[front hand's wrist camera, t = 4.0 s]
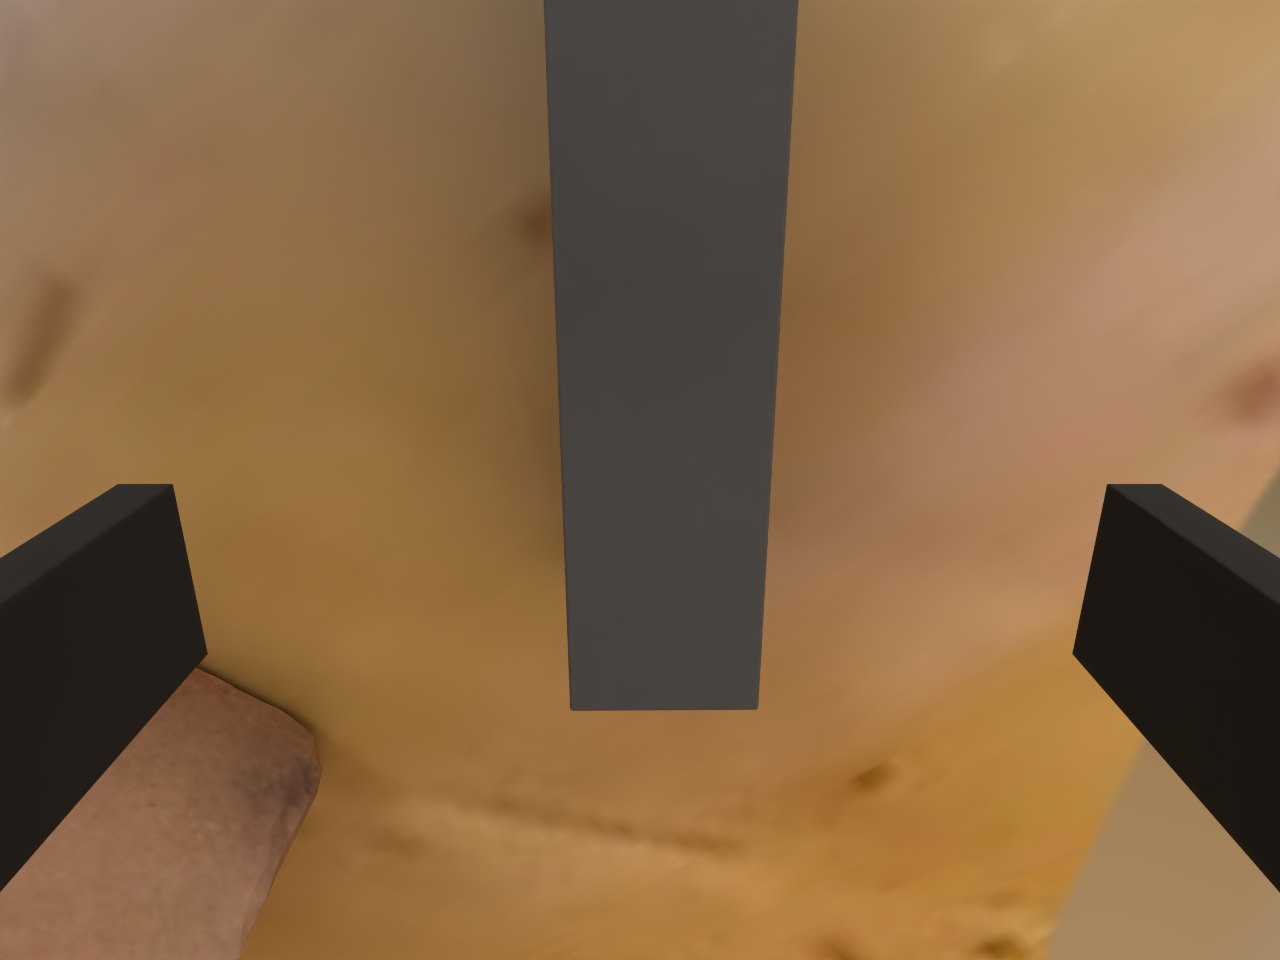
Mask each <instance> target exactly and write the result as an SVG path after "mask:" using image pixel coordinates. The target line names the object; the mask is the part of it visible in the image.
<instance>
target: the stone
mask: <svg viewBox="0 0 1280 960" xmlns="http://www.w3.org/2000/svg"><path fill="white" fill-rule="evenodd" d="M321 773H322V766H321V764H320V762H319V759H318V757H317V754H316V746H315V737H314V735H313V734H311V733H310V732H309V731H308V730H307V729H306V728H304V727H303V726H302V725H301V724H299V723H298V722H297V721H295V720H294V719H293V718H291V717H290V716H288V715H287V714H285V713H284V712H282V711H281V710H279V709H278V708H275V707H273V706H271V705H269V704H267V703H264V702H262V701H260V700H258V699H256V698H254V697H252V696H250V695H248V694H246V693H244V692H242V691H240V690H238V689H236V688H235V687H233V686H231V685H230V684H228V683H226V682H224V681H222V680H221V679H219V678H217V677H215V676H213V675H211V674H208V673H206V672H204V671H202V670H200V669H198V668H195V669H194V670H193V671H192V672H191V673H190V675H189V676H188V677H187V678H186V679H185V680H184V682H183V683H182V684H181V685H180V686H179V687H178V688H177V690H176V691H175V692H174V693H173V694H172V695H171V696H170V698H169V699H168V700H167V701H166V702H165V703H164V705H163V706H162V707H161V708H160V709H159V710H158V711H157V713H156V714H155V715H154V716H153V717H152V718H151V720H150V721H149V722H148V723H147V724H146V725H145V726H144V728H143V729H142V730H141V731H140V732H139V733H138V734H137V736H136V737H135V738H134V739H133V740H132V741H131V743H130V744H129V745H128V746H127V747H126V748H125V749H124V751H123V752H122V753H121V754H120V755H119V756H118V757H117V759H116V760H115V761H114V762H113V763H112V764H111V766H110V767H109V768H108V769H107V770H106V771H105V772H104V774H103V775H102V776H101V777H100V778H99V779H98V780H97V782H96V783H95V784H94V785H93V786H92V787H91V789H90V790H89V791H88V792H87V793H86V794H85V795H84V797H83V798H82V799H81V800H80V801H79V802H78V804H77V805H76V806H75V807H74V808H73V809H72V810H71V812H70V813H69V814H68V815H67V816H66V817H65V818H64V820H63V821H62V822H61V823H60V824H59V825H58V827H57V828H56V829H55V830H54V831H53V832H52V833H51V835H50V836H49V837H48V838H47V839H46V840H45V841H44V843H43V844H42V845H41V846H40V847H39V848H38V850H37V851H36V852H35V853H34V854H33V855H32V856H31V858H30V859H29V860H28V861H27V862H26V863H25V864H24V866H23V867H22V868H21V869H20V870H19V871H18V873H17V874H16V875H15V876H14V877H13V878H12V879H11V881H10V882H9V883H8V884H7V885H6V886H5V888H4V889H3V890H2V891H1V892H0V960H237V959H238V958H239V956H240V953H241V951H242V949H243V946H244V944H245V942H246V940H247V937H248V935H249V933H250V931H251V929H252V927H253V925H254V923H255V921H256V919H257V917H258V915H259V912H260V910H261V908H262V906H263V904H264V902H265V900H266V898H267V896H268V894H269V892H270V889H271V887H272V885H273V882H274V880H275V878H276V876H277V874H278V871H279V869H280V867H281V865H282V863H283V860H284V858H285V856H286V854H287V852H288V850H289V847H290V845H291V844H292V842H293V840H294V838H295V836H296V834H297V832H298V830H299V828H300V826H301V824H302V822H303V821H304V819H305V817H306V814H307V812H308V810H309V808H310V806H311V804H312V802H313V800H314V798H315V796H316V794H317V789H318V785H319V781H320V777H321Z"/></svg>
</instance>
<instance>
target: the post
mask: <svg viewBox="0 0 1280 960" xmlns="http://www.w3.org/2000/svg"><path fill="white" fill-rule="evenodd" d="M797 14H798V0H544V16H545V43H546V70H547V97H548V124H549V151H550V178H551V204H552V231H553V258H554V285H555V312H556V339H557V366H558V393H559V420H560V447H561V474H562V501H563V528H564V555H565V582H566V609H567V635H568V662H569V689H570V708H571V710H572V711H601V710H756V709H757V708H758V701H759V683H760V665H761V648H762V630H763V613H764V595H765V577H766V560H767V542H768V525H769V507H770V489H771V472H772V454H773V436H774V419H775V401H776V384H777V366H778V348H779V331H780V313H781V296H782V278H783V260H784V243H785V225H786V208H787V190H788V172H789V155H790V137H791V119H792V102H793V84H794V67H795V49H796V31H797Z"/></svg>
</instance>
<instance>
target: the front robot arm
mask: <svg viewBox="0 0 1280 960" xmlns="http://www.w3.org/2000/svg"><path fill="white" fill-rule="evenodd" d="M206 655H207V649H206V644H205V639H204V634H203V629H202V624H201V619H200V615H199V610H198V605H197V600H196V595H195V590H194V585H193V580H192V576H191V571H190V566H189V561H188V556H187V551H186V546H185V541H184V537H183V532H182V527H181V522H180V517H179V512H178V507H177V503H176V498H175V493H174V488H173V484H118V485H116V486H114V487H113V488H111V489H110V490H108V491H106V492H105V493H103V494H102V495H100V496H99V497H97V498H95V499H94V500H92V501H91V502H89V503H87V504H86V505H84V506H83V507H81V508H79V509H78V510H76V511H75V512H73V513H71V514H70V515H68V516H67V517H65V518H64V519H62V520H60V521H59V522H57V523H56V524H54V525H52V526H51V527H49V528H48V529H46V530H44V531H43V532H41V533H40V534H38V535H36V536H35V537H33V538H32V539H30V540H28V541H27V542H25V543H24V544H22V545H21V546H19V547H17V548H16V549H14V550H13V551H11V552H9V553H8V554H6V555H5V556H3V557H1V558H0V892H1V891H2V890H3V889H4V888H5V886H6V885H7V884H8V883H9V882H10V881H11V879H12V878H13V877H14V876H15V875H16V874H17V873H18V871H19V870H20V869H21V868H22V867H23V866H24V864H25V863H26V862H27V861H28V860H29V859H30V858H31V856H32V855H33V854H34V853H35V852H36V851H37V850H38V848H39V847H40V846H41V845H42V844H43V843H44V841H45V840H46V839H47V838H48V837H49V836H50V835H51V833H52V832H53V831H54V830H55V829H56V828H57V827H58V825H59V824H60V823H61V822H62V821H63V820H64V818H65V817H66V816H67V815H68V814H69V813H70V812H71V810H72V809H73V808H74V807H75V806H76V805H77V804H78V802H79V801H80V800H81V799H82V798H83V797H84V795H85V794H86V793H87V792H88V791H89V790H90V789H91V787H92V786H93V785H94V784H95V783H96V782H97V780H98V779H99V778H100V777H101V776H102V775H103V774H104V772H105V771H106V770H107V769H108V768H109V767H110V766H111V764H112V763H113V762H114V761H115V760H116V759H117V757H118V756H119V755H120V754H121V753H122V752H123V751H124V749H125V748H126V747H127V746H128V745H129V744H130V743H131V741H132V740H133V739H134V738H135V737H136V736H137V734H138V733H139V732H140V731H141V730H142V729H143V728H144V726H145V725H146V724H147V723H148V722H149V721H150V720H151V718H152V717H153V716H154V715H155V714H156V713H157V711H158V710H159V709H160V708H161V707H162V706H163V705H164V703H165V702H166V701H167V700H168V699H169V698H170V696H171V695H172V694H173V693H174V692H175V691H176V690H177V688H178V687H179V686H180V685H181V684H182V683H183V682H184V680H185V679H186V678H187V677H188V676H189V675H190V673H191V672H192V671H193V670H194V669H195V668H196V667H197V665H198V664H199V663H200V662H201V661H202V660H203V659H204V657H205V656H206ZM1073 655H1074V656H1075V657H1076V659H1077V660H1078V661H1079V662H1080V663H1081V664H1082V665H1083V667H1084V668H1085V669H1086V670H1087V671H1088V672H1089V673H1090V675H1091V676H1092V677H1093V678H1094V679H1095V680H1096V682H1097V683H1098V684H1099V685H1100V686H1101V687H1102V688H1103V690H1104V691H1105V692H1106V693H1107V694H1108V695H1109V696H1110V698H1111V699H1112V700H1113V701H1114V702H1115V703H1116V705H1117V706H1118V707H1119V708H1120V709H1121V710H1122V711H1123V713H1124V714H1125V715H1126V716H1127V717H1128V718H1129V720H1130V721H1131V722H1132V723H1133V724H1134V725H1135V726H1136V728H1137V729H1138V730H1139V731H1140V732H1141V733H1142V734H1143V736H1144V737H1145V738H1146V739H1147V740H1148V741H1149V743H1150V744H1151V745H1152V746H1153V747H1154V748H1155V749H1156V751H1157V752H1158V753H1159V754H1160V755H1161V756H1162V757H1163V759H1164V760H1165V761H1166V762H1167V763H1168V764H1169V766H1170V767H1171V768H1172V769H1173V770H1174V771H1175V772H1176V774H1177V775H1178V776H1179V777H1180V778H1181V779H1182V780H1183V782H1184V783H1185V784H1186V785H1187V786H1188V787H1189V789H1190V790H1191V791H1192V792H1193V793H1194V794H1195V795H1196V797H1197V798H1198V799H1199V800H1200V801H1201V802H1202V803H1203V805H1204V806H1205V807H1206V808H1207V809H1208V810H1209V812H1210V813H1211V814H1212V815H1213V816H1214V817H1215V818H1216V820H1217V821H1218V822H1219V823H1220V824H1221V825H1222V826H1223V828H1224V829H1225V830H1226V831H1227V832H1228V833H1229V835H1230V836H1231V837H1232V838H1233V839H1234V840H1235V841H1236V843H1237V844H1238V845H1239V846H1240V847H1241V848H1242V849H1243V851H1244V852H1245V853H1246V854H1247V855H1248V856H1249V858H1250V859H1251V860H1252V861H1253V862H1254V863H1255V864H1256V866H1257V867H1258V868H1259V869H1260V870H1261V871H1262V872H1263V874H1264V875H1265V876H1266V877H1267V878H1268V879H1269V881H1270V882H1271V883H1272V884H1273V885H1274V886H1275V888H1276V889H1277V890H1278V891H1279V892H1280V558H1279V557H1277V556H1275V555H1274V554H1272V553H1271V552H1269V551H1267V550H1266V549H1264V548H1263V547H1261V546H1259V545H1258V544H1256V543H1255V542H1253V541H1252V540H1250V539H1248V538H1247V537H1245V536H1244V535H1242V534H1240V533H1239V532H1237V531H1236V530H1234V529H1232V528H1231V527H1229V526H1228V525H1226V524H1224V523H1223V522H1221V521H1220V520H1218V519H1216V518H1215V517H1213V516H1212V515H1210V514H1209V513H1207V512H1205V511H1204V510H1202V509H1201V508H1199V507H1197V506H1196V505H1194V504H1193V503H1191V502H1189V501H1188V500H1186V499H1185V498H1183V497H1181V496H1180V495H1178V494H1177V493H1175V492H1174V491H1172V490H1170V489H1169V488H1167V487H1166V486H1164V485H1162V484H1107V488H1106V493H1105V498H1104V503H1103V507H1102V512H1101V517H1100V522H1099V527H1098V532H1097V537H1096V541H1095V546H1094V551H1093V556H1092V561H1091V566H1090V571H1089V576H1088V580H1087V585H1086V590H1085V595H1084V600H1083V605H1082V610H1081V615H1080V619H1079V624H1078V629H1077V634H1076V639H1075V644H1074V649H1073Z"/></svg>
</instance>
